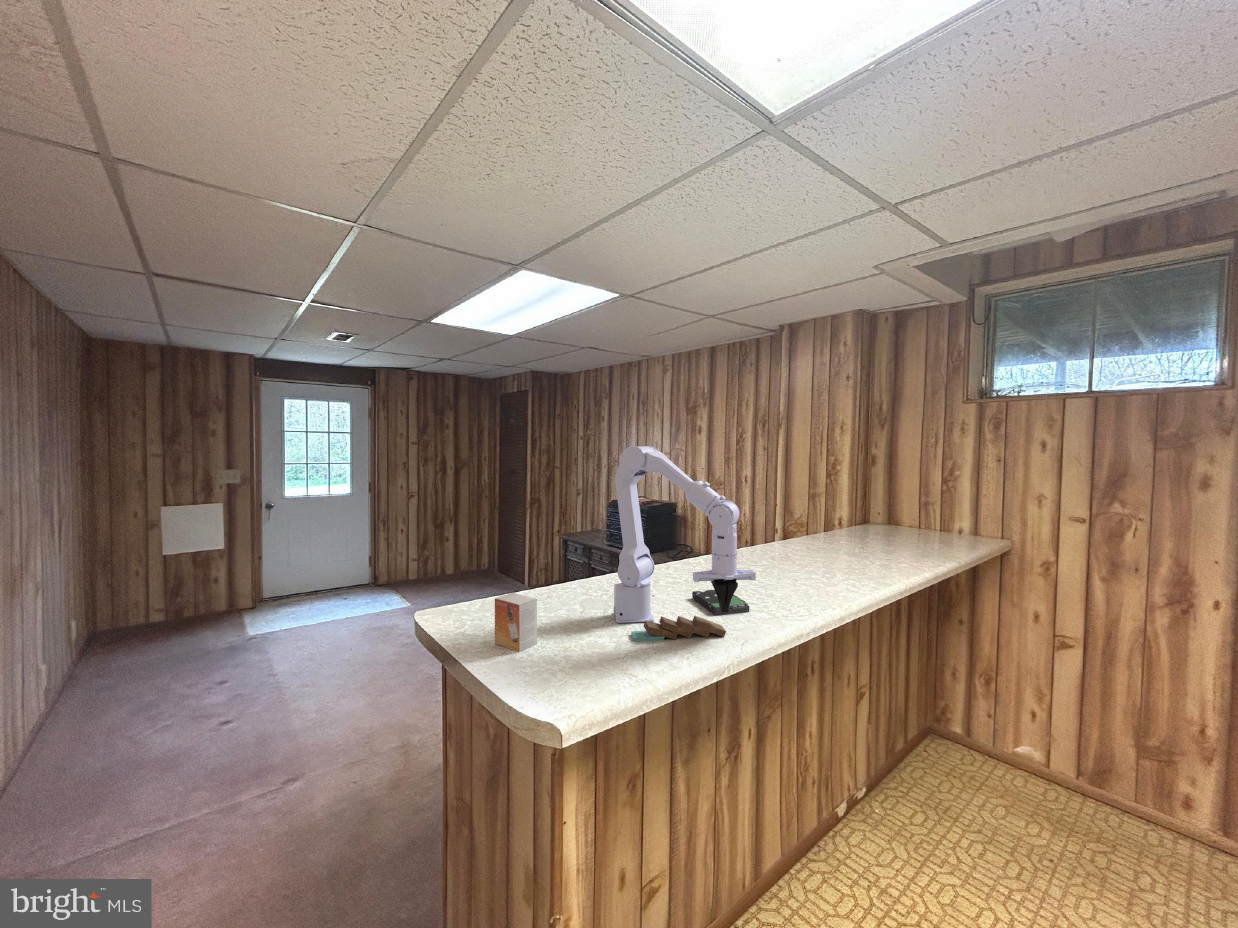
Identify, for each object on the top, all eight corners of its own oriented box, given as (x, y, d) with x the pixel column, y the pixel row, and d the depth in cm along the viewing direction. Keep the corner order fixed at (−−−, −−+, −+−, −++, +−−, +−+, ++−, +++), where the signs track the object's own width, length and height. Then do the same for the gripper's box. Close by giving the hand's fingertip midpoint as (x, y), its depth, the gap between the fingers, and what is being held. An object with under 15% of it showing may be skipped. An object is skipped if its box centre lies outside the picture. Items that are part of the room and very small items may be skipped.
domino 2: (690, 638, 114) (663, 627, 113) (685, 631, 118) (659, 621, 117) (692, 632, 114) (665, 622, 113) (687, 626, 118) (661, 616, 117)
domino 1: (675, 639, 113) (647, 632, 112) (671, 632, 117) (643, 626, 116) (677, 633, 113) (649, 626, 112) (672, 626, 117) (645, 620, 116)
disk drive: (691, 600, 143) (715, 617, 129) (691, 591, 143) (715, 606, 129) (723, 597, 146) (750, 613, 132) (723, 588, 146) (750, 602, 132)
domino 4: (724, 637, 115) (696, 626, 114) (719, 630, 119) (692, 620, 118) (726, 631, 115) (698, 621, 114) (721, 625, 119) (694, 615, 118)
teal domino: (660, 629, 117) (631, 631, 117) (664, 636, 113) (633, 637, 113) (660, 635, 117) (631, 637, 117) (664, 642, 113) (633, 643, 113)
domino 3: (707, 637, 114) (679, 627, 114) (703, 630, 118) (676, 621, 118) (709, 631, 114) (681, 621, 114) (705, 625, 118) (678, 615, 118)
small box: (494, 644, 111) (493, 597, 111) (512, 636, 116) (512, 591, 115) (519, 652, 107) (518, 604, 106) (537, 644, 111) (537, 597, 111)
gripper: (698, 558, 111) (697, 617, 112) (760, 556, 113) (760, 615, 113) (690, 551, 118) (690, 607, 119) (749, 549, 120) (749, 605, 120)
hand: (723, 610), depth 117 cm, fingers closed
